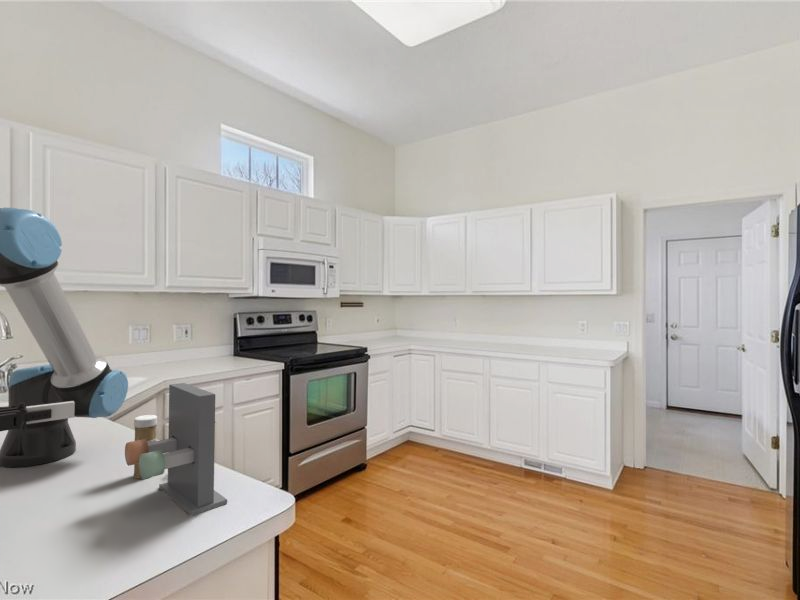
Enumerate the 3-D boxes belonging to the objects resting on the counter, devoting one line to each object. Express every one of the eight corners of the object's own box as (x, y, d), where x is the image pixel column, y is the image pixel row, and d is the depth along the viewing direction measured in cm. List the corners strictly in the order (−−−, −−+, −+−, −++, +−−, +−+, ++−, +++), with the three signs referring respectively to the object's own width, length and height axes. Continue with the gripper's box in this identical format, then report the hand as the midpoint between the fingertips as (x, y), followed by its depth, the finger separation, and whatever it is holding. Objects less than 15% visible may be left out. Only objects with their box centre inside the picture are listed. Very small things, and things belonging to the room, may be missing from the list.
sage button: (138, 475, 79) (139, 451, 79) (202, 459, 88) (202, 437, 88) (146, 482, 76) (146, 457, 76) (211, 464, 85) (212, 442, 85)
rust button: (124, 462, 86) (125, 440, 86) (185, 448, 94) (185, 428, 94) (131, 468, 83) (131, 445, 83) (193, 453, 91) (194, 432, 91)
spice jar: (139, 471, 100) (140, 414, 101) (159, 471, 101) (160, 414, 101) (129, 479, 96) (130, 419, 96) (150, 479, 96) (151, 419, 96)
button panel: (159, 488, 92) (160, 385, 92) (193, 478, 97) (194, 381, 97) (190, 515, 80) (192, 398, 80) (227, 503, 85) (229, 392, 86)
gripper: (-131, 451, 65) (65, 423, 82) (-142, 475, 56) (81, 437, 73) (-128, 401, 65) (67, 383, 82) (-140, 417, 56) (82, 393, 73)
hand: (73, 409), depth 77 cm, fingers closed
